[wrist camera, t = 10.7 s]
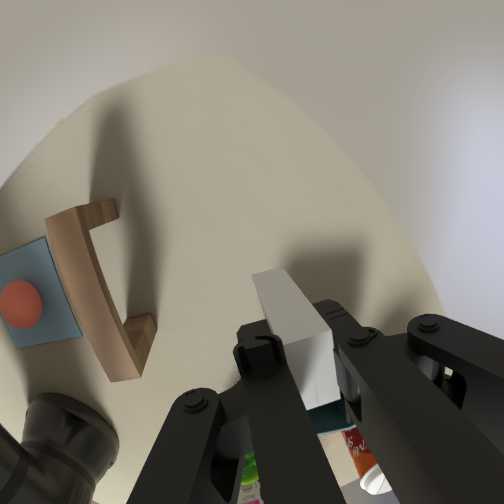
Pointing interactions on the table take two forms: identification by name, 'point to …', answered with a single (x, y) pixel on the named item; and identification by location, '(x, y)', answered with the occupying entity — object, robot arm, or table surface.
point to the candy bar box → (250, 494)
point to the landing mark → (51, 292)
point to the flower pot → (330, 417)
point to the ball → (20, 304)
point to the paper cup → (365, 463)
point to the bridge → (98, 292)
